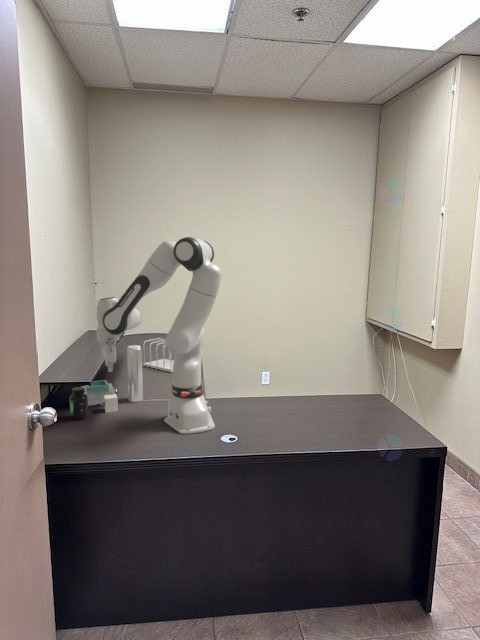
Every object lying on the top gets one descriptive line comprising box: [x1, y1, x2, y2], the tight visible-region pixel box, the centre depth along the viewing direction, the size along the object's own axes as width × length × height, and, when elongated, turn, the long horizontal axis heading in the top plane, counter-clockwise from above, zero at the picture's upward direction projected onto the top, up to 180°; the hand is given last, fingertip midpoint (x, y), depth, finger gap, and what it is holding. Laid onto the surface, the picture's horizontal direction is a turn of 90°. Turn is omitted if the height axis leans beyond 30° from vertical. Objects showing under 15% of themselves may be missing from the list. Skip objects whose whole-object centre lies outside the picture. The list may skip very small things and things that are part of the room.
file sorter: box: [142, 337, 175, 373], centre depth 248 cm, size 25×17×16 cm
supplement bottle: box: [68, 386, 89, 421], centre depth 167 cm, size 7×7×12 cm
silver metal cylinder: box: [126, 344, 144, 403], centre depth 188 cm, size 6×6×25 cm
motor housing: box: [80, 379, 119, 407], centre depth 189 cm, size 14×16×8 cm
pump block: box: [101, 394, 119, 413], centre depth 176 cm, size 5×6×6 cm
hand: (108, 368), depth 174 cm, fingers open, 8 cm apart
